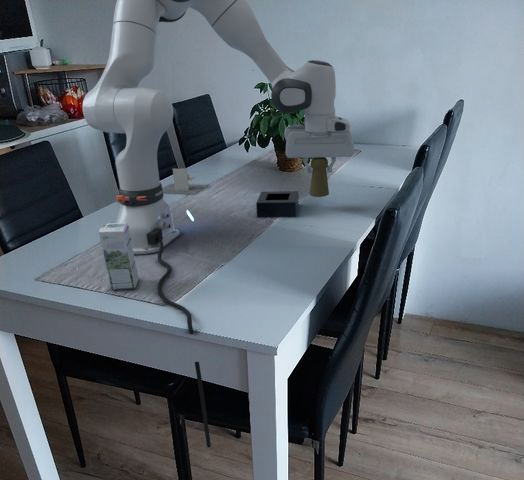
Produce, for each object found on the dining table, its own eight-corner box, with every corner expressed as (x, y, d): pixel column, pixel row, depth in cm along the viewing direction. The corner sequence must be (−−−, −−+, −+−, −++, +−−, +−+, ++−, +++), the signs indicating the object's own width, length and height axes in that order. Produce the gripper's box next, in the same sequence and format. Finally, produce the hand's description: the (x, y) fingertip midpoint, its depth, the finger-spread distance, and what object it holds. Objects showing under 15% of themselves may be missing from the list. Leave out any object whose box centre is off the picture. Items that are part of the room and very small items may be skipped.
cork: (329, 190, 170) (329, 154, 164) (329, 196, 165) (329, 159, 159) (309, 190, 171) (309, 155, 165) (309, 197, 166) (309, 160, 160)
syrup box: (139, 279, 132) (128, 221, 124) (135, 289, 127) (123, 229, 119) (115, 280, 132) (103, 222, 124) (110, 291, 127) (97, 231, 119)
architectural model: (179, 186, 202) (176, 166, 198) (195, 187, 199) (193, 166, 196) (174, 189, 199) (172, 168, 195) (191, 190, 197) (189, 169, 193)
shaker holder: (295, 216, 165) (295, 202, 163) (257, 217, 167) (256, 202, 164) (298, 204, 175) (298, 190, 173) (262, 205, 177) (261, 191, 174)
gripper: (283, 126, 156) (284, 175, 163) (355, 124, 153) (353, 174, 160) (285, 122, 161) (286, 170, 168) (354, 120, 158) (352, 168, 166)
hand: (319, 172), depth 164 cm, fingers closed on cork, 5 cm apart
